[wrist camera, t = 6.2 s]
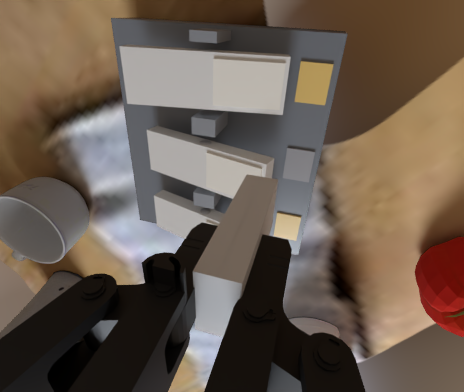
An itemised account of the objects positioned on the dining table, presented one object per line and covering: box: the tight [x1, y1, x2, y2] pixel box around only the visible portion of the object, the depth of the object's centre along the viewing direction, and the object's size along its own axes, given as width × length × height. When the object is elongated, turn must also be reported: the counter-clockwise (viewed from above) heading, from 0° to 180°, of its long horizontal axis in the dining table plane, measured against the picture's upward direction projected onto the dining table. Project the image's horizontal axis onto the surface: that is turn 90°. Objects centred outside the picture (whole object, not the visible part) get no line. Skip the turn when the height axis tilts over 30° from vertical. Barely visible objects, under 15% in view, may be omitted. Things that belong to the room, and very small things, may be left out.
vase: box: [0, 271, 83, 339], centre depth 45 cm, size 13×14×28 cm
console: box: [111, 18, 347, 255], centre depth 29 cm, size 21×19×8 cm
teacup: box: [0, 177, 89, 263], centre depth 41 cm, size 14×11×8 cm
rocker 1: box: [119, 44, 291, 115], centre depth 22 cm, size 4×12×2 cm, turn 88°
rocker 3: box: [154, 190, 224, 239], centre depth 30 cm, size 4×12×2 cm, turn 88°
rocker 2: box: [147, 126, 274, 199], centre depth 26 cm, size 4×12×2 cm, turn 88°
